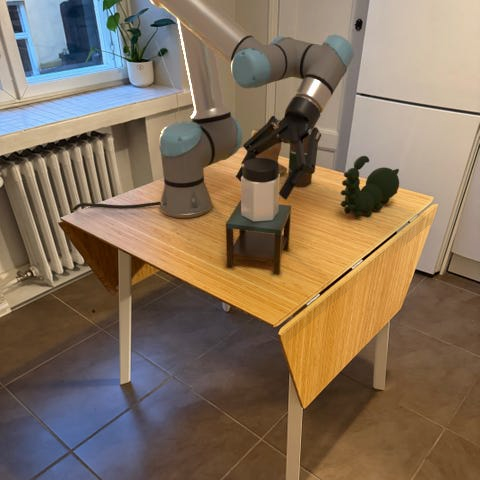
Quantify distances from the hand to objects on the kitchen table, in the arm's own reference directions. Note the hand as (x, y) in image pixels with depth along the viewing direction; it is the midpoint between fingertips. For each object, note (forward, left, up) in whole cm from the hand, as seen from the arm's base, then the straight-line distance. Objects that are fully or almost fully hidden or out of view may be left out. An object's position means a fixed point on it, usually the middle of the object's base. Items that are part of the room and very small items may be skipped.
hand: (260, 188), depth 107 cm
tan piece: (-11, +54, -19) cm, 58 cm away
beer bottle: (+2, +50, -19) cm, 53 cm away
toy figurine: (+25, +35, -19) cm, 47 cm away
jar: (0, 0, -7) cm, 7 cm away
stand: (0, 0, -18) cm, 18 cm away
